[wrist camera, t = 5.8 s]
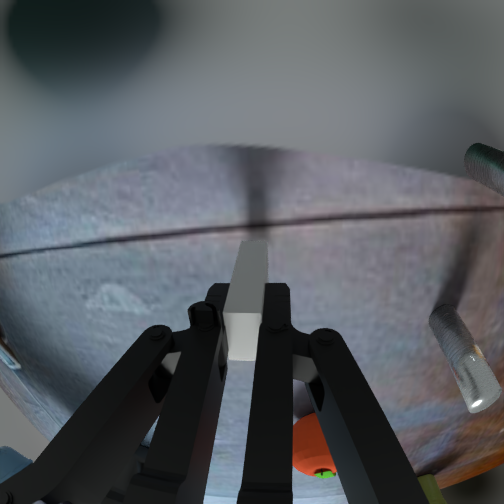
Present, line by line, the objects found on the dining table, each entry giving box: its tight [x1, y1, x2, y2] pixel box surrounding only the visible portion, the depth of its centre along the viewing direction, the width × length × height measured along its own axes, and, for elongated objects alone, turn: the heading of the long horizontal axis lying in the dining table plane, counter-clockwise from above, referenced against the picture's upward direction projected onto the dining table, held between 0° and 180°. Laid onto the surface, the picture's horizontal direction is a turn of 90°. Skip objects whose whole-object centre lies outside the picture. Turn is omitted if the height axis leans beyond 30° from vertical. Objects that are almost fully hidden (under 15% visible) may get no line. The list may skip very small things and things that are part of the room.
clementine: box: [293, 413, 337, 478], centre depth 25 cm, size 8×7×7 cm
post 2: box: [429, 305, 502, 413], centre depth 17 cm, size 3×3×9 cm
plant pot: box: [417, 474, 447, 504], centre depth 36 cm, size 9×9×9 cm
